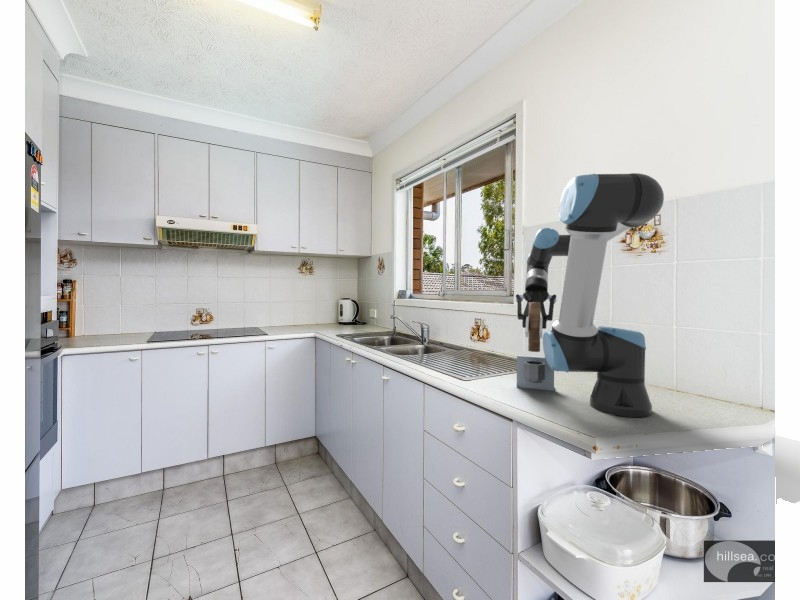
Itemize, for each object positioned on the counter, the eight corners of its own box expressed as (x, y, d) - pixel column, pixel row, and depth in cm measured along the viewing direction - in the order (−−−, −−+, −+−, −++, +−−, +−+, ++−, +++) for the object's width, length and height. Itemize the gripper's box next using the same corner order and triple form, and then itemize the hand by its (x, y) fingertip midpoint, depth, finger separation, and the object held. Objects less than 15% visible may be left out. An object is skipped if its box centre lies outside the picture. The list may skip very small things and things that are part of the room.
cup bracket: (525, 376, 123) (525, 359, 123) (545, 377, 120) (545, 360, 120) (523, 381, 115) (523, 363, 115) (544, 383, 113) (544, 365, 112)
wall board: (518, 383, 129) (518, 353, 128) (554, 387, 124) (554, 355, 124) (516, 387, 124) (516, 355, 124) (553, 390, 119) (554, 358, 119)
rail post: (542, 351, 116) (542, 302, 116) (533, 352, 115) (534, 302, 114) (534, 349, 119) (534, 302, 119) (526, 350, 118) (526, 302, 118)
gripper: (561, 291, 127) (561, 343, 113) (513, 291, 134) (507, 340, 119) (561, 276, 122) (562, 328, 108) (511, 276, 129) (505, 326, 114)
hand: (533, 334), depth 113 cm, fingers closed on rail post, 3 cm apart
